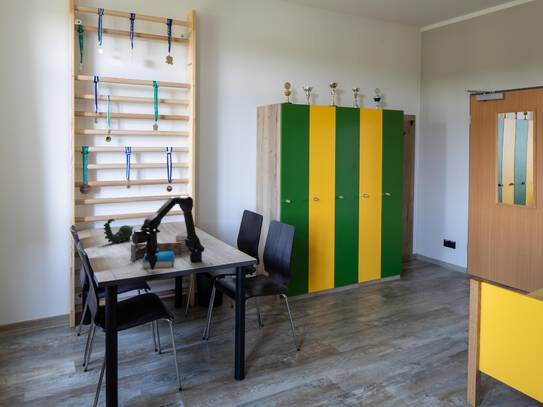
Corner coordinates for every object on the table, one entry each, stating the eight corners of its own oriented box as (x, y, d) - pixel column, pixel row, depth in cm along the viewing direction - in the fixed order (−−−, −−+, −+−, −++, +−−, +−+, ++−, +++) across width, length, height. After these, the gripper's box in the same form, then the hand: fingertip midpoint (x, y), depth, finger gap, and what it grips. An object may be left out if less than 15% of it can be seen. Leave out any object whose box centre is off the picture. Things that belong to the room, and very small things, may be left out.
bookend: (137, 257, 282) (136, 241, 281) (135, 261, 272) (135, 244, 271) (133, 257, 282) (133, 241, 281) (132, 261, 272) (131, 244, 271)
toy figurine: (112, 247, 316) (139, 238, 337) (109, 221, 312) (136, 213, 333) (102, 246, 321) (130, 237, 342) (99, 220, 317) (127, 212, 338)
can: (196, 250, 301) (196, 232, 299) (186, 254, 291) (186, 235, 289) (182, 248, 306) (181, 231, 304) (171, 252, 295) (171, 234, 294)
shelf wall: (181, 254, 289) (180, 241, 288) (181, 255, 287) (180, 242, 286) (131, 256, 284) (131, 243, 283) (131, 257, 282) (131, 244, 281)
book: (142, 262, 257) (145, 251, 281) (142, 269, 257) (145, 258, 282) (173, 260, 260) (173, 250, 284) (173, 267, 261) (174, 256, 285)
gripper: (138, 238, 256) (138, 265, 258) (134, 245, 237) (135, 275, 239) (158, 237, 258) (159, 265, 260) (156, 244, 240) (157, 273, 241)
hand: (152, 269), depth 250 cm, fingers closed
